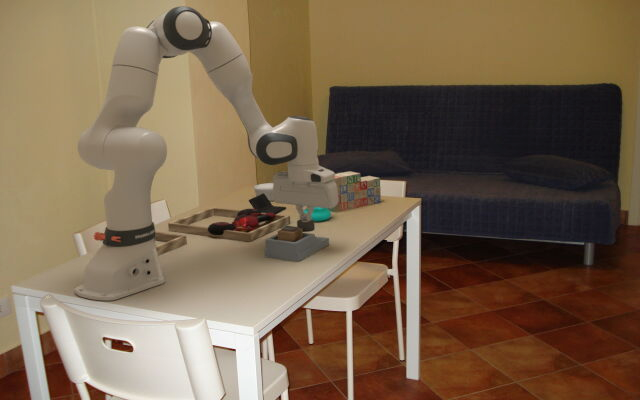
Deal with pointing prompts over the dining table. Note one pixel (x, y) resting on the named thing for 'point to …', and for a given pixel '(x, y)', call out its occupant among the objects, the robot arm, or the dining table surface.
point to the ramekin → (265, 190)
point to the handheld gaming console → (265, 205)
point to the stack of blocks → (356, 191)
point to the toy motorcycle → (241, 222)
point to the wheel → (306, 225)
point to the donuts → (319, 214)
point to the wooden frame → (169, 241)
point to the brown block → (290, 234)
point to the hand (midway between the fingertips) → (305, 220)
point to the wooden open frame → (184, 227)
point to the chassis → (294, 247)
